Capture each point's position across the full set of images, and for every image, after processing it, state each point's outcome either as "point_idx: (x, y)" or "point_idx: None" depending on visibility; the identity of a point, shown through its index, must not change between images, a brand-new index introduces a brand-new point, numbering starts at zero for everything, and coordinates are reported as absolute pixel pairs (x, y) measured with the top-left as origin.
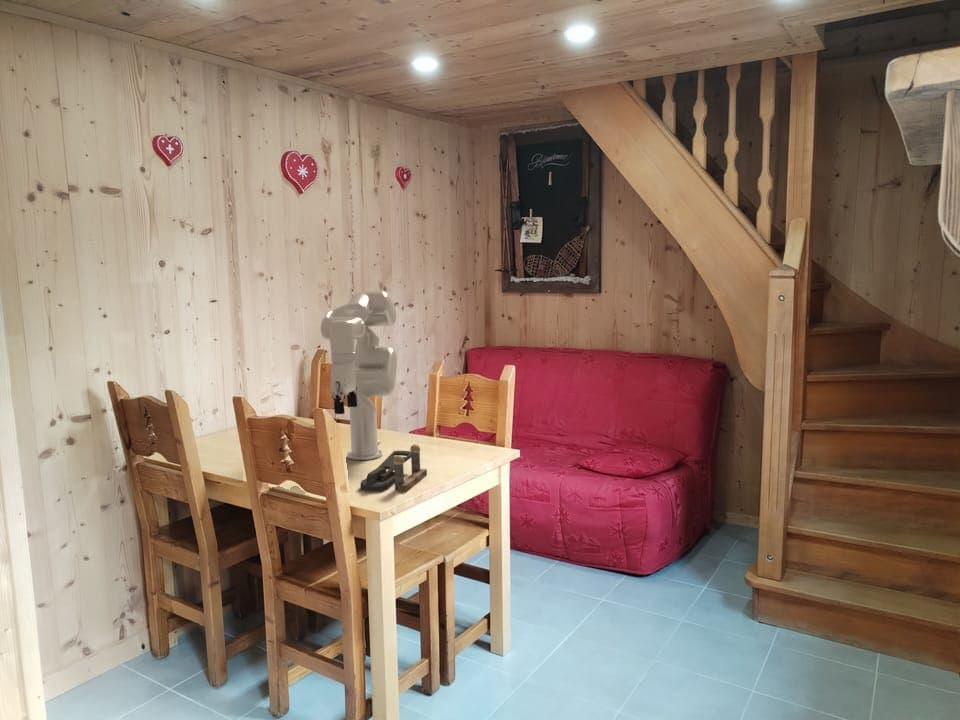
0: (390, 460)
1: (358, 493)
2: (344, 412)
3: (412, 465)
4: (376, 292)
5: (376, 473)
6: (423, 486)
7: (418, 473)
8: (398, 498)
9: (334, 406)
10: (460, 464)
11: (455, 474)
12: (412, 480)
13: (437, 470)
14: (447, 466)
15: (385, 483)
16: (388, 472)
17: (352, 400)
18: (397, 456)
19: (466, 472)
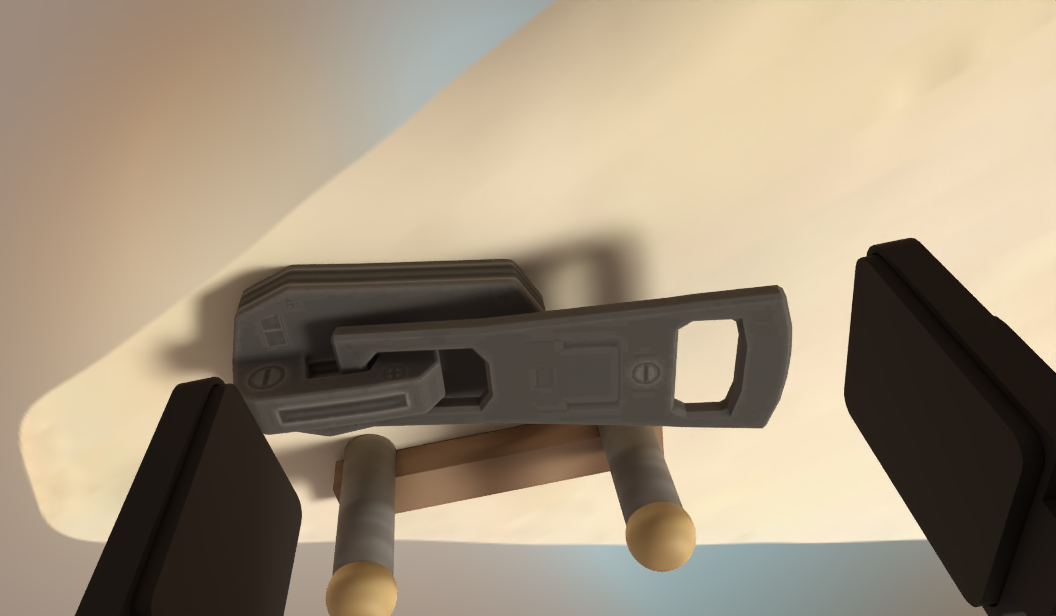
0: (593, 357)
1: (181, 318)
2: (291, 529)
3: (608, 451)
4: None
5: (303, 426)
6: (468, 508)
7: (570, 467)
8: None
9: (123, 514)
10: (878, 468)
11: (700, 523)
12: (440, 504)
13: (750, 434)
14: (833, 438)
15: (317, 434)
16: (413, 424)
17: (918, 455)
18: None
19: (742, 542)
